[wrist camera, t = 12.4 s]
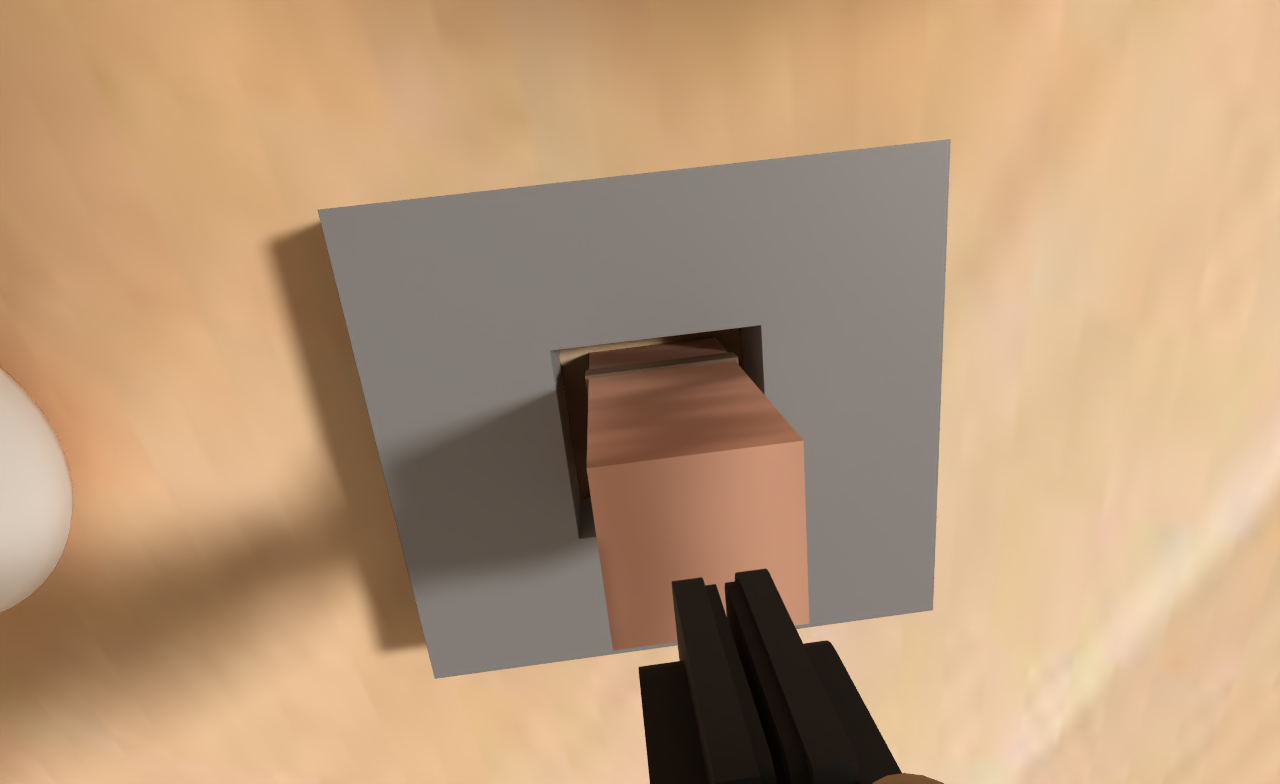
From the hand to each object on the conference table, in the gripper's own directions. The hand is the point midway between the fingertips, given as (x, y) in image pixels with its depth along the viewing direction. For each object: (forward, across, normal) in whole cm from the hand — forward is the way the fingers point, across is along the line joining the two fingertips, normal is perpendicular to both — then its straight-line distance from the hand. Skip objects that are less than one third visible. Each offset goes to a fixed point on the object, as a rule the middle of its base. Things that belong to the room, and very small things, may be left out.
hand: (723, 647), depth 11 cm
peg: (+13, 0, 0) cm, 13 cm away
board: (+13, 0, 0) cm, 13 cm away
